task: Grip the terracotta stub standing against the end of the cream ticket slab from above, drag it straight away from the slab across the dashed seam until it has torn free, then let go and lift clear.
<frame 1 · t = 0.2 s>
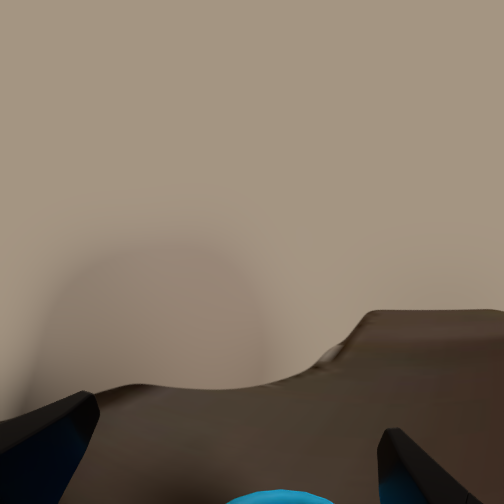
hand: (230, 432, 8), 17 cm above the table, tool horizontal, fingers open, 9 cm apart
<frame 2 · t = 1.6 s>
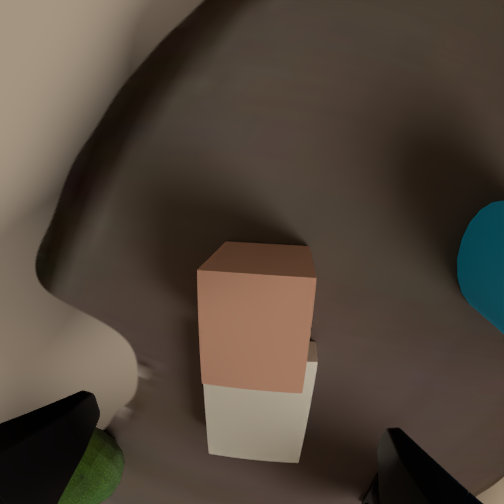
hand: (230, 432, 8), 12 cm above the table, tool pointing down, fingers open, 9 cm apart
avocado: (103, 435, 26), on the table
stub: (260, 311, 17), point 3 cm above the table, slide at 0.0 cm
ticket slab: (259, 395, 22), on the table
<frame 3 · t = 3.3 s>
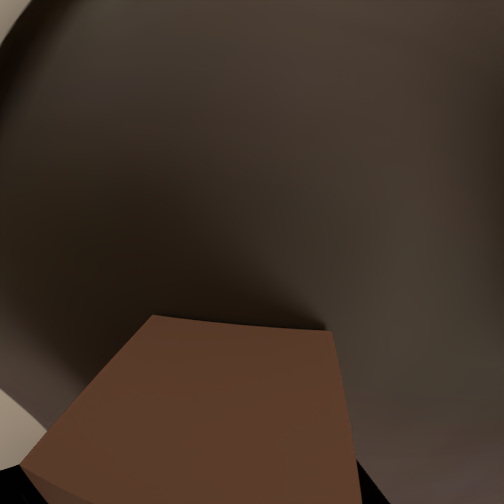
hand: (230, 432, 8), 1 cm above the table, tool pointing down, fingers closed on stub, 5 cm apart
stub: (218, 479, 6), point 3 cm above the table, slide at 0.0 cm, touching gripper
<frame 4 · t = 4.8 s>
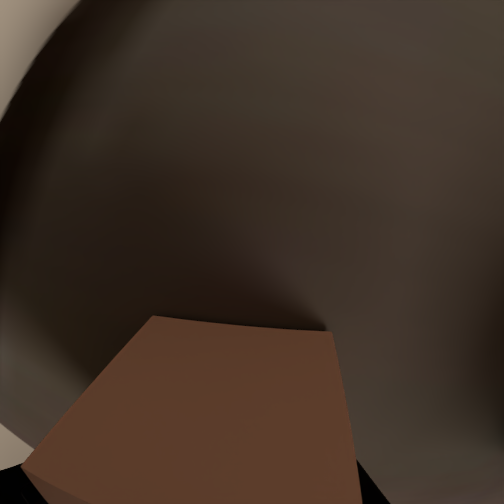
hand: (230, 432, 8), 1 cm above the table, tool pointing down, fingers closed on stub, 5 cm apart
stub: (219, 480, 6), point 3 cm above the table, slide at 4.7 cm, touching gripper
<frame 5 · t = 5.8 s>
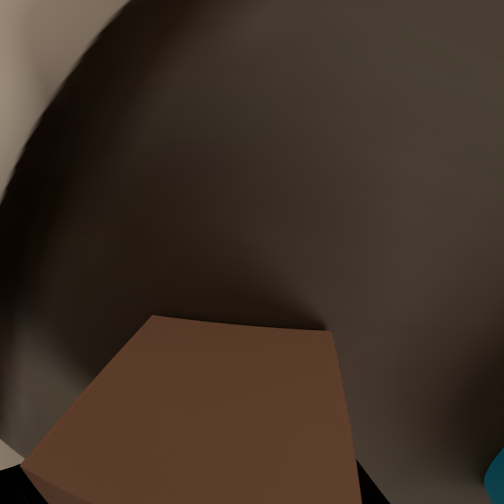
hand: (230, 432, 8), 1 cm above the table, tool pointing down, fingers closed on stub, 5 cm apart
stub: (218, 479, 6), point 3 cm above the table, slide at 7.9 cm, touching gripper
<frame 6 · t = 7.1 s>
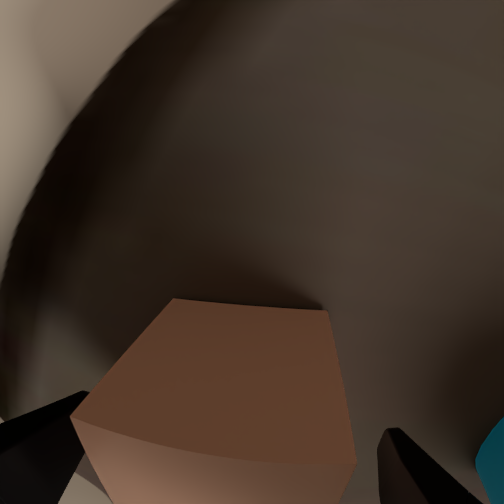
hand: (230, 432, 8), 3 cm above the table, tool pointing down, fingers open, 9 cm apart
stub: (231, 440, 8), point 3 cm above the table, slide at 7.9 cm
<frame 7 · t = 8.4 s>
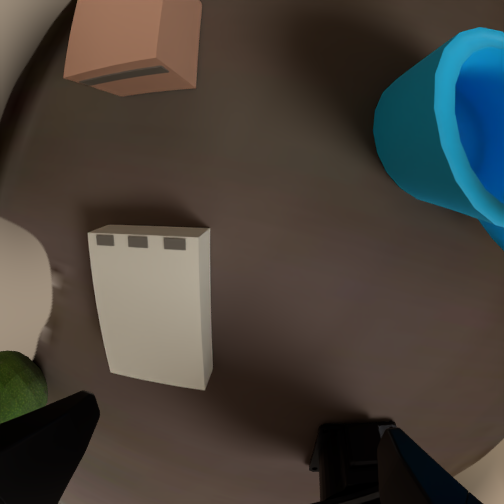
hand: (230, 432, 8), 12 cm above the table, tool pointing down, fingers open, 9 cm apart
avocado: (34, 368, 25), on the table
mug: (448, 163, 16), on the table
stub: (139, 32, 13), point 3 cm above the table, slide at 7.9 cm
ticket slab: (159, 300, 20), on the table
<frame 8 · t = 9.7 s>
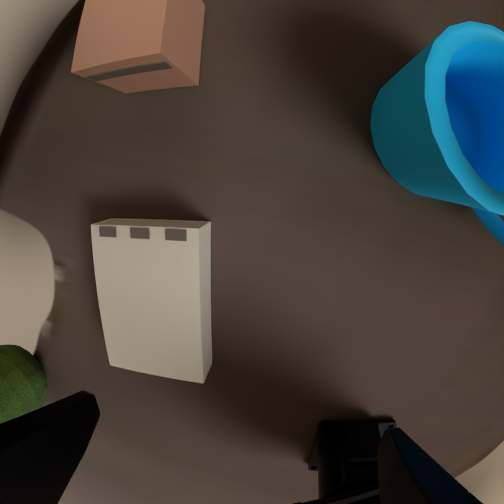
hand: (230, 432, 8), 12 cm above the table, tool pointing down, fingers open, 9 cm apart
avocado: (34, 363, 25), on the table
mug: (445, 158, 16), on the table
stub: (144, 31, 13), point 3 cm above the table, slide at 7.9 cm
ticket slab: (160, 293, 21), on the table
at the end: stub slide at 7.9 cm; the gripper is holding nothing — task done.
